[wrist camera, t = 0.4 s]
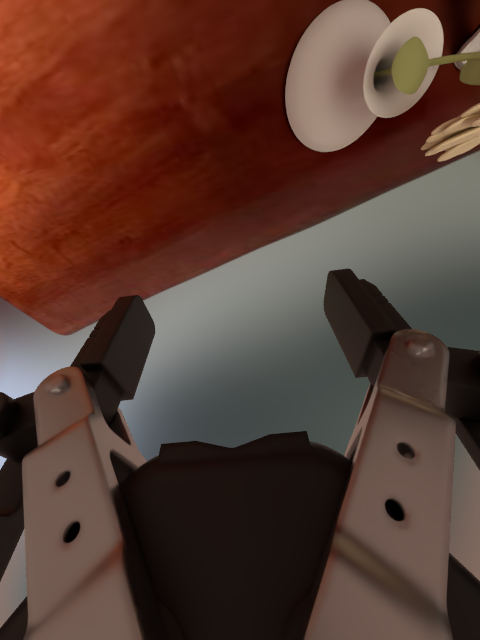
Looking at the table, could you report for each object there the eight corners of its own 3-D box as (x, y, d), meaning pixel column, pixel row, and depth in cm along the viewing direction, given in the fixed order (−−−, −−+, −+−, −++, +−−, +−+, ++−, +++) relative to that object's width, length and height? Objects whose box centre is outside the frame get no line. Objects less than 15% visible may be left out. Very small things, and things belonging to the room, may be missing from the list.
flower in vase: (268, 135, 29) (346, 169, 10) (308, -18, 21) (901, -1016, 3) (360, 165, 31) (562, 238, 12) (424, 37, 24) (1158, -265, 5)
